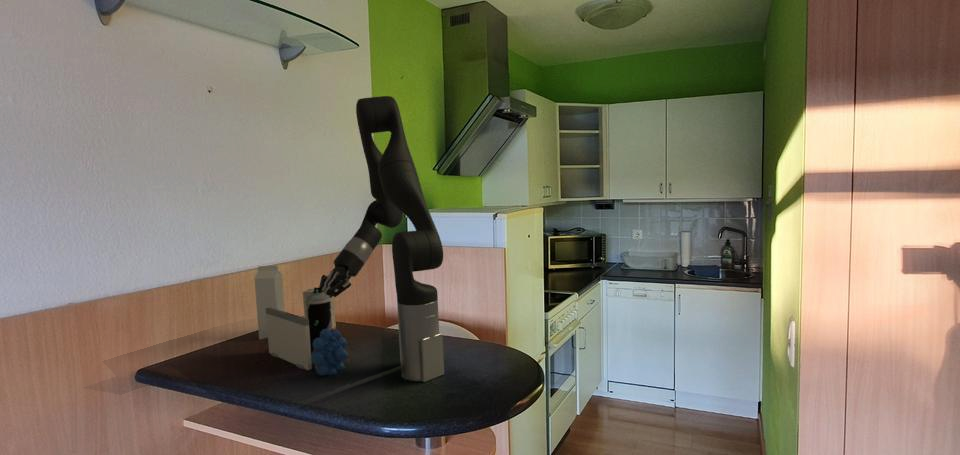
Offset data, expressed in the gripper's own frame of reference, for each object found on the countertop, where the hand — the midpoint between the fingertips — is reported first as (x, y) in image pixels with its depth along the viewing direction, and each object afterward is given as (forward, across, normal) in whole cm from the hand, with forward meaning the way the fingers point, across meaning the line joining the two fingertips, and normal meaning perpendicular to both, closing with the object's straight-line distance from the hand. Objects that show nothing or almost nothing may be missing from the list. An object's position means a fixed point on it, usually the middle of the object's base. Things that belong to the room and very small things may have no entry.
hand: (317, 307), depth 134 cm
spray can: (+13, +13, +4) cm, 19 cm away
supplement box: (+1, -19, +16) cm, 25 cm away
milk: (+11, -24, +7) cm, 27 cm away
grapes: (+14, +22, +3) cm, 27 cm away
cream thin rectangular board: (+16, +5, 0) cm, 16 cm away
